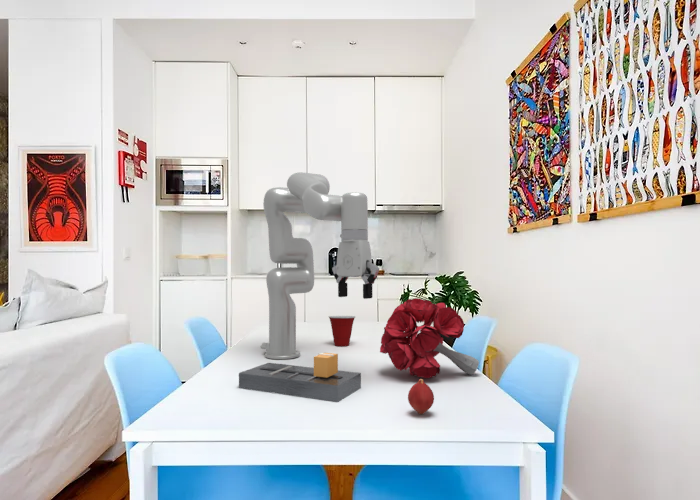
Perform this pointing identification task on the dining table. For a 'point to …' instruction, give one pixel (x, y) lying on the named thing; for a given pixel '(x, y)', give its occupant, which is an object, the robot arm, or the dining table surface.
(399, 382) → the dining table surface
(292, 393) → the block
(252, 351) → the dining table surface
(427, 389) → the onion
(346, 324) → the plastic cup
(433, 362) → the bouquet
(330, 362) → the fader knob
